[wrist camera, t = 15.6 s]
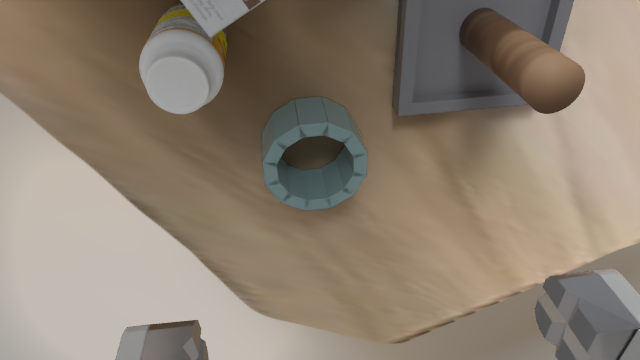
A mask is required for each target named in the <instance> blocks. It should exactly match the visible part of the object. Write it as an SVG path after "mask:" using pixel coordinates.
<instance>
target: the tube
mask: <svg viewBox="0 0 640 360" xmlns="http://www.w3.org/2000/svg"><path fill="white" fill-rule="evenodd" d="M323 135H325V136H328V137H330V138H333V139H335V140H338V141H340V142H343V143H344V144H345V145H344V147H343V149H342V150H341V152H340V153H339V155H338V157H337V158H336V160H334V161H332V162H330V163H329V164H327V165H325V166H324V167H322V168H319V169H309V170H301V169H299V168H296V167H293V166H290V165H288V164H286V163H285V162H284V160H283V159H282V158H281V156H282V154H283V152H284V150H285V149H286V148H287V147H289V146H290V145H292V144H294V143H295V142H297V141H298V140H300V139H302V138H303V137H312V136H323ZM262 163H263V171H264V178H265V185H266V187H267V188H268V189H269V190H270V191H271V192H272V193H273V194H274V195H275V197H276V198H277V199H278V200H279V201H280V202H281V203H283V204H286V205H289V206H292V207H295V208H298V209H301V210H305V211H307V210H316V209H325V208H332V207H333V206H335V205H337V204H339V203H341V202H342V201H344V200H346V199H348V198H349V197H351V196H353V195H354V193H355V192H356V190H357V189H358V188H359V186H360V185H361V183H362V182H363V180H364V179H365V177H366V175H367V151H366V148H365V146H364V143H363V140H362V138H361V135H360V133H359V130H358V127H357V125H356V123H355V122H354V120H353V119H352V117H351V116H350V114H349V113H348V112H347V110H346V109H345V107H344V106H342V105H340V104H337V103H335V102H333V101H331V100H328V99H326V98H324V97H321V96H319V97H308V98H296V99H295V100H294V99H293V100H291V101H290V102H288V103H287V104H285V105H284V106H282V107H281V108H279V109H277V110H276V111H274V112H273V113H272V114H271V116H270V118H269V120H268V122H267V124H266V126H265V128H264V130H263V132H262Z"/></svg>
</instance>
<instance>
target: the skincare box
mask: <svg viewBox="0 0 640 360" xmlns="http://www.w3.org/2000/svg"><path fill="white" fill-rule="evenodd" d="M180 1H181V2H182V3H183V4H184V6H185V7H186V8H187V9H188V11H189V12H190V13H191V14H192V16H193V17H194V18H195V19H196V21H197V22H198V23H199V25H200V26H201V27H202V28H203V29H204V31H205V32H206V33H207V35H208V36H209V37H213V36H214V35H216V34H217V33H218V32H220V31H221V30H223V29H224V28H226V27H227V26H229V25H230V24H231V23H233V22H234V21H236V20H237V19H239V18H240V17H242V16H243V15H245V14H246V13H248V12H249V11H251V10H252V9H254V8H255V7H257V6H258V5H260V4H261V3H262V2H264V1H265V0H180Z"/></svg>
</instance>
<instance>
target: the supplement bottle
mask: <svg viewBox="0 0 640 360" xmlns="http://www.w3.org/2000/svg"><path fill="white" fill-rule="evenodd" d="M227 42H228V41H227V33H226V29H225V28H224V29H223V30H221V31H220V32H218V33H217V34H216V35H214V36H213V37H209V36H208V35H207V33H206V32H205V31H204V29H203V28H202V27H201V26H200V25H199V23H198V22H197V21H196V19H195V18H194V17H193V16H192V14H191V13H190V12H189V11H188V9H187V8H186V7H185V6H184V4H183V3H179V4H176V5H174V6H172V7H170V8H169V9H168V10H167V11H166V12H164V14H163V15H162V16H161V18H160V19H159V21H158V23H157V25H156V26H155V28H154V30H153V32H152V33H151V35H150V37H149V38H148V40H147V42H146V44H145V46H144V48H143V50H142V52H141V55H140V60H139V71H140V76H141V79H142V81H143V83H144V85H145V87H146V90H147V93H148V95H149V97H150V98H151V100H152V101H153V102H154V103H155V104H156V105H157V106H158V107H160V108H161V109H163V110H165V111H167V112H170V113H174V114H188V113H192V112H194V111H196V110H198V109H199V108H201V107H202V106H204V105H206V104H207V103H209V102H210V101H211V100H213V99H214V98H215V96H216V95H217V94H218V92H219V91H220V89H221V86H222V83H223V78H224V70H225V61H226V52H227Z"/></svg>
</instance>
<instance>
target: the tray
mask: <svg viewBox="0 0 640 360" xmlns="http://www.w3.org/2000/svg"><path fill="white" fill-rule="evenodd" d="M573 2H574V0H399V7H398V22H397V38H396V54H395V69H394V85H393V101H392V106H393V108H394V110H395V111H396V113H397V115H398V116H408V115H419V114H429V113H440V112H451V111H462V110H473V109H484V108H494V107H505V106H516V105H527V104H528V103H527V102H526V101H524V100H523V99H522V98H521V97H520V96H519V95H518V94H517V93H516V92H514V91H513V90H512V89H511V88H510V87H509V86H508V85H507V84H506V83H504V82H503V81H502V80H501V79H500V78H499V77H498V76H497V75H495V74H494V73H493V72H492V71H491V70H490V69H489V68H488V67H487V66H485V65H484V64H483V63H482V62H481V61H480V60H479V59H478V58H477V57H475V56H474V55H473V54H472V53H471V52H470V51H469V50H468V49H467V48H465V47H464V46H463V45H462V43H461V41H460V37H459V31H460V27H461V25H462V23H463V21H464V19H465V18H466V17H467V16H468V15H469V14H470V13H472V12H473V11H475V10H477V9H480V8H490V9H492V10H494V11H496V12H497V13H499V14H501V15H502V16H504V17H505V18H507V19H508V20H510V21H512V22H513V23H515V24H516V25H518V26H519V27H521V28H523V29H524V30H526V31H527V32H529V33H530V34H532V35H534V36H535V37H537V38H538V39H540V40H541V41H543V42H544V43H546V44H548V45H549V46H551V47H552V48H554V49H555V50H557V51H560V48H561V44H562V41H563V37H564V34H565V30H566V27H567V23H568V20H569V16H570V13H571V9H572V6H573Z"/></svg>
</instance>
